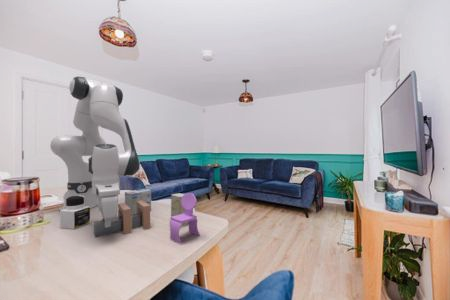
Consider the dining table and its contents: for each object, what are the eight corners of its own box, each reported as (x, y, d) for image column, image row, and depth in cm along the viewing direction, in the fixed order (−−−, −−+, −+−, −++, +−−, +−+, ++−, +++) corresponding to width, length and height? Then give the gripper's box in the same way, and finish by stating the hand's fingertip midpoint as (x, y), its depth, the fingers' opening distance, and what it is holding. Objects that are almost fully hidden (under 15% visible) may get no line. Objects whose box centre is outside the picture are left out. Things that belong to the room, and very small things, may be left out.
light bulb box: (144, 208, 105) (144, 188, 105) (151, 210, 101) (151, 189, 101) (124, 213, 97) (124, 191, 97) (131, 216, 93) (131, 193, 93)
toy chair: (167, 238, 69) (166, 195, 69) (187, 230, 76) (187, 191, 76) (181, 245, 64) (181, 198, 64) (202, 236, 70) (201, 194, 70)
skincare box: (170, 223, 83) (170, 194, 83) (179, 220, 86) (179, 192, 86) (179, 227, 79) (179, 196, 79) (188, 224, 82) (188, 194, 82)
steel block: (93, 233, 73) (93, 221, 73) (144, 222, 84) (144, 211, 84) (94, 237, 70) (94, 224, 70) (147, 225, 81) (147, 214, 81)
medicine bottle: (74, 229, 78) (74, 198, 78) (59, 228, 79) (59, 198, 79) (90, 222, 85) (90, 194, 85) (76, 221, 86) (76, 194, 86)
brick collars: (118, 225, 81) (118, 203, 81) (142, 220, 87) (142, 200, 87) (124, 234, 73) (123, 210, 73) (150, 227, 78) (150, 205, 78)
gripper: (93, 184, 80) (93, 218, 80) (99, 192, 64) (99, 235, 64) (111, 183, 84) (111, 215, 84) (120, 190, 68) (121, 230, 68)
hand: (106, 224), depth 74 cm, fingers closed on steel block, 4 cm apart
